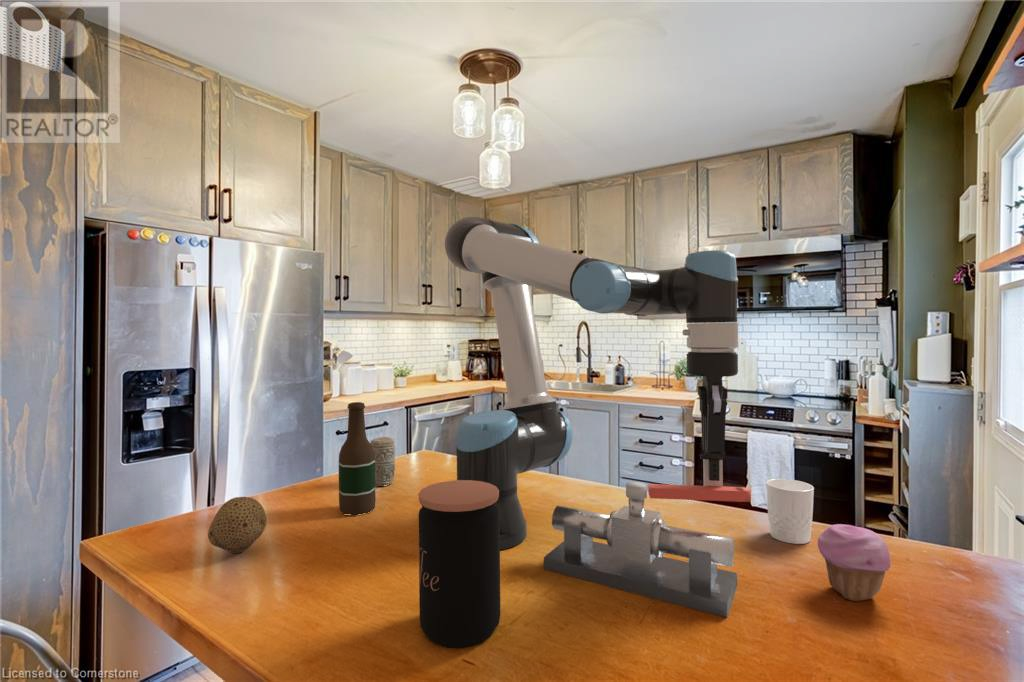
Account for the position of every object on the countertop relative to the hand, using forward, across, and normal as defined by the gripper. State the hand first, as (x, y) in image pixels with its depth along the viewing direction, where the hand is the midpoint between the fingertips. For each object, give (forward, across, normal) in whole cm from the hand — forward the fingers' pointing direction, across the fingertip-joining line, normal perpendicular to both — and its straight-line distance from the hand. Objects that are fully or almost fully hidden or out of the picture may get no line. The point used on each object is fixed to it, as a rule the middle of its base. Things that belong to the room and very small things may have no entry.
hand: (713, 498), depth 79 cm
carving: (+13, -32, -78) cm, 85 cm away
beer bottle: (+12, -13, -73) cm, 75 cm away
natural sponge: (+12, +12, -81) cm, 83 cm away
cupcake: (+13, +1, +19) cm, 23 cm away
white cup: (+13, -20, +16) cm, 28 cm away
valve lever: (-1, +2, -4) cm, 5 cm away
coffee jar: (+12, +23, -34) cm, 43 cm away
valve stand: (+12, +4, -12) cm, 17 cm away
